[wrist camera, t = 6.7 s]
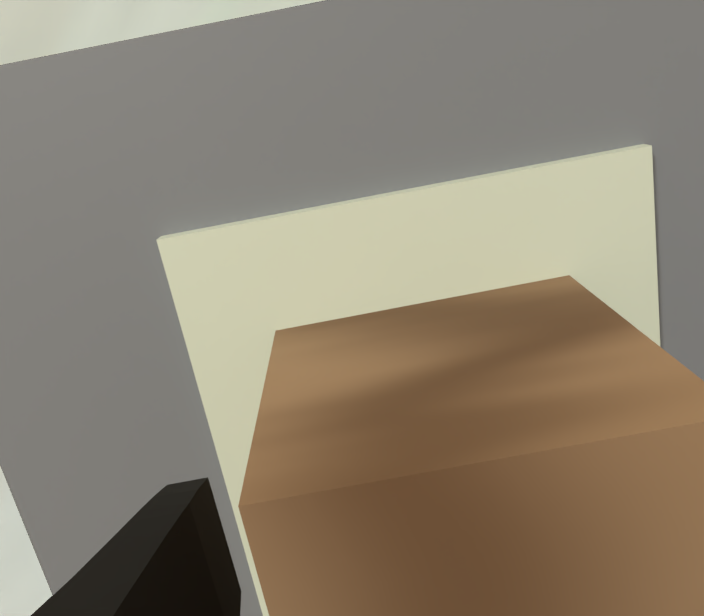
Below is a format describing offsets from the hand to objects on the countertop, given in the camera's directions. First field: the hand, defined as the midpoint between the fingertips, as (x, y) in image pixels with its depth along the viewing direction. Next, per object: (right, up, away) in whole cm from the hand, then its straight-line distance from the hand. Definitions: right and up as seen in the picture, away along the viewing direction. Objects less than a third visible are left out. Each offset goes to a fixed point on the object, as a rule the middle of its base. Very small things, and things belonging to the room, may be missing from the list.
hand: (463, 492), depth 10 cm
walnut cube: (0, 0, +2) cm, 2 cm away
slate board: (0, +2, +5) cm, 5 cm away
